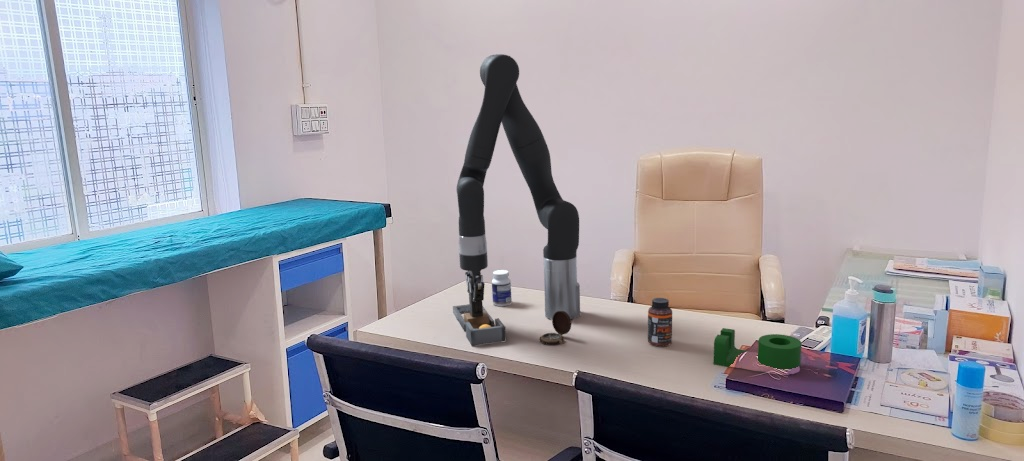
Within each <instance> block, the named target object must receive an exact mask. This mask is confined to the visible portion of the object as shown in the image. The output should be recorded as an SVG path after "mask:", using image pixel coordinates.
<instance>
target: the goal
mask: <svg viewBox="0 0 1024 461" xmlns="http://www.w3.org/2000/svg"><path fill="white" fill-rule="evenodd" d="M465 323H466V332H465V337H466V339H467V340H468V342H469V343H470V344H469V345H471V347H474V346H481V345H489V344H496V343H503V342H507V335H506V326H505V324H504V323H503V322H502V321H501V319H500V318H494V327H488V328H480V329H479V328H477V329H473V327H472V326H471V324H470V322H465Z"/></svg>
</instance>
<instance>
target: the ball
mask: <svg viewBox="0 0 1024 461" xmlns="http://www.w3.org/2000/svg"><path fill="white" fill-rule="evenodd" d="M488 327H491V326H490V325H487V324H484V325H482V326H480V327H479V328H478V329H480V328H488Z"/></svg>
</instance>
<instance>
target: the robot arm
mask: <svg viewBox="0 0 1024 461" xmlns="http://www.w3.org/2000/svg"><path fill="white" fill-rule="evenodd" d="M479 76H480V80H481V83H482V84H483V85H484V93H483V99H482V101H481V102H482V104H481V106H480V109H479V112H478V115H477V118H476V121H475V122H474V124H473V127H472V130H471V132H470V134H469V135H470V136H469V139H468V142H467V147H466V150H465V154H464V162H463V164H462V165H463V166H462V168H461V171H460V173H459V177H458V180H457V184H456V194H457V195H456V196H457V205H458V206H457V207H458V213H459V216H458V235H459V236H458V251H459V252H458V254H459V268H460V269H461V270H462V271H465V274H464V275H465V281H466V282H465V283H466V287H467V288H466V290H467V293H468V294H469V286H470V292H471V293H472V300H473V313H474V314H475V315H477V314H481V313H482V306H483V303H482V304H481V301H482V302H483V301H484V299H485V298H484V296H485V282H484V276H483V274H482V272H481V271H482V270H485V269H487V268H488V265H489V262H488V245H487V244H488V243H487V237H486V221H485V216H484V213H485V189H484V184H485V179H486V177H487V176H486V175H487V171H488V169H489V168H490V166H491V164H492V163H491V162H492V159H493V156H494V152H495V148H496V144H497V140H498V135H499V132H500V128H501V124H502V128H503V130H504V133H505V135H506V139H507V141H508V144H509V147H510V149H511V151H512V154H513V156H514V158H515V161H516V163H517V165H518V167H519V169H520V173H521V174H522V177H523V179H524V181H525V182H526V185H527V187H528V188H529V191H530V195H531V196H532V200H533V204H534V207H535V212H536V214H537V217H538V220H539V222H540V224H541V225H542V227H544V228H545V229H546V230H547V242H546V244H545V246H544V247H543V249H542V251H543V252H542V253H543V255H542V256H543V283H544V284H543V286H544V313H545V317H546V318H547V319H549V320H552V318H553V315H554V314H555V313H556V312H557V311H562V310H563V311H565V312H566V313H567V314H568V315H569V317H570V319H571V320H572V319H575V318H577V317H581V296H580V294H581V292H580V291H581V289H580V283H579V282H578V270H577V269H578V267H577V264H578V262H577V255H578V254H577V252H578V248H579V245H580V244H579V243H580V215H579V211H578V209H577V207H576V206H575V205H574V204H573V203H572V202H569V201H567V200H564V199H563V197H562V196H561V194H560V192H559V190H558V187H557V186H556V184H555V181H554V177H553V174H552V161H551V159H552V158H551V154H550V150H549V146H548V144H547V141H546V139H545V136H544V134H543V132H542V129H541V128H540V126H539V124H538V122H537V121H536V119H535V118H534V116H533V115H532V113H531V112H530V110H529V109H528V107H527V105H526V104H525V102H524V100H523V98H522V95H521V93H520V90H519V88H518V84H517V82H518V80H519V79H520V67H519V65H518V62H517V61H516V59H515V58H513V57H512V56H511V55H509V54H508V55H507V54H505V53H504V54H502V53H501V54H500V53H499V54H492V55H489V56H487V57H485V59H484V60H483V61H482V62H481V65H480V67H479ZM473 289H474V290H473ZM477 295H479V296H477Z"/></svg>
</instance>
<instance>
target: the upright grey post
mask: <svg viewBox="0 0 1024 461" xmlns="http://www.w3.org/2000/svg"><path fill="white" fill-rule="evenodd" d="M473 290H474V289H473ZM477 296H479V295H477ZM468 299H469V300H468V301H469V302H468V303H469V305H470V312H465V313H463V319H464V320H465V322H470V324H471V326H472V327H473V329H479V327H480V326H482V325H484V324H487V325H490V323H489V316H488V314H489V313H488V314H487V313H486V312H485V311H483V307H484V305H483V300H482V301H481V304H482V313H481V314H477V315H475V314H474V313H473V300H472V293H471V292H470V286H469V293H468Z"/></svg>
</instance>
